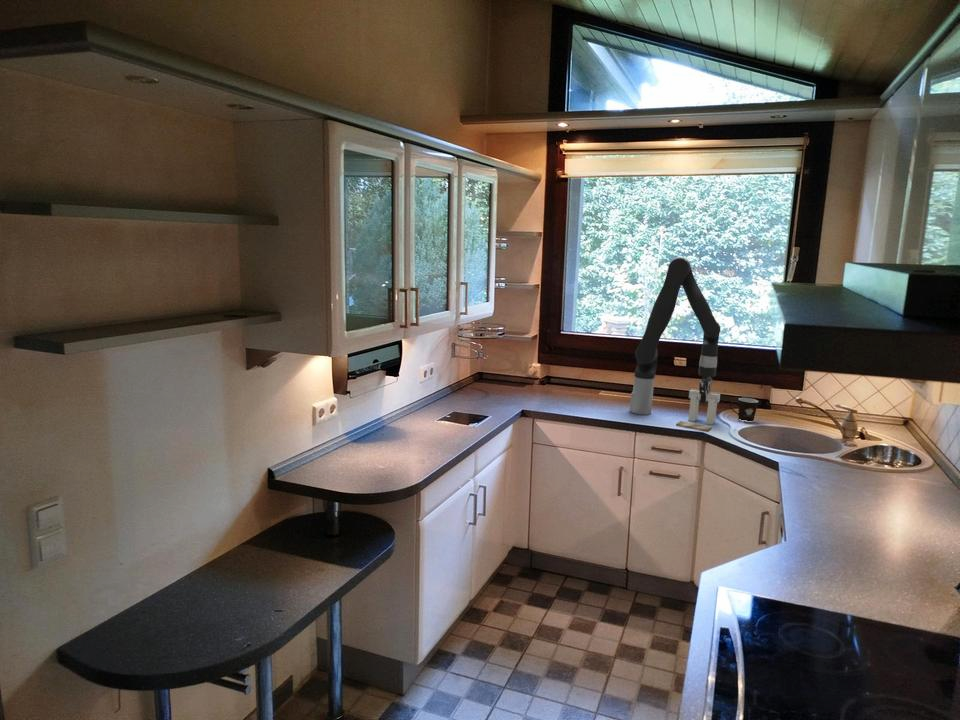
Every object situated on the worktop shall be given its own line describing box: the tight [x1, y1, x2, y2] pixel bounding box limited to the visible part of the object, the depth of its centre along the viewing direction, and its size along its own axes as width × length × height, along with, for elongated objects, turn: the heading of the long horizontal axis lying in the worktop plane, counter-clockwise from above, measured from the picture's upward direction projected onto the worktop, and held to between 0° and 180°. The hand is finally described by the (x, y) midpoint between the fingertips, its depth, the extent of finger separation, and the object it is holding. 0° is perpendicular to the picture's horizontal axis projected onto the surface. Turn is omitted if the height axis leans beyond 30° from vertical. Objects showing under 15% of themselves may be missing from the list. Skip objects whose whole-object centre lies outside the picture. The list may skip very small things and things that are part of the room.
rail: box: [688, 389, 721, 404], centre depth 303 cm, size 13×4×4 cm, turn 57°
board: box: [675, 420, 712, 433], centre depth 294 cm, size 14×6×1 cm, turn 57°
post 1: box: [688, 396, 700, 422], centre depth 306 cm, size 2×6×12 cm, turn 147°
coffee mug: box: [729, 397, 759, 422], centre depth 308 cm, size 12×9×10 cm
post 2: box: [705, 399, 718, 425], centre depth 302 cm, size 2×6×12 cm, turn 147°
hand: (703, 401), depth 303 cm, fingers closed on rail, 3 cm apart
